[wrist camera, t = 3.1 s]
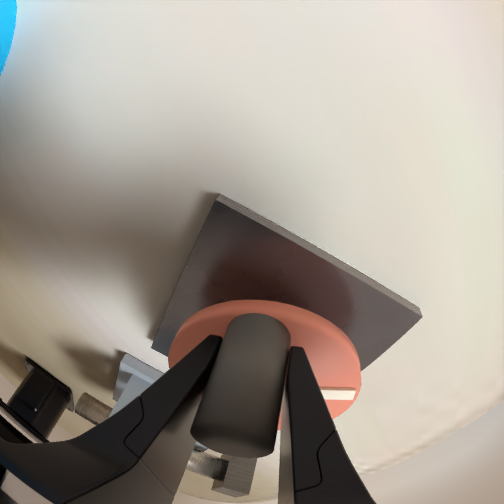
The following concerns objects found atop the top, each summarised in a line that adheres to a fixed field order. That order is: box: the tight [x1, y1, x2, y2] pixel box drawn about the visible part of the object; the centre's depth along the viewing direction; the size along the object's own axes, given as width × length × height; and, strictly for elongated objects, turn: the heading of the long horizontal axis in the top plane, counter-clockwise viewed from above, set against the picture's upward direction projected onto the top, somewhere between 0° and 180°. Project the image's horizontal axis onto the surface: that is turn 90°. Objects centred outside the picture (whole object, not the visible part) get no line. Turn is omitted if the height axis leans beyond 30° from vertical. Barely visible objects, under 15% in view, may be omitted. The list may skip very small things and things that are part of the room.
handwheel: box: [168, 300, 361, 458], centre depth 11 cm, size 8×8×6 cm
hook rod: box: [75, 392, 257, 497], centre depth 17 cm, size 2×13×3 cm, turn 63°
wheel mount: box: [151, 194, 422, 371], centre depth 14 cm, size 10×10×1 cm
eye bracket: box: [109, 353, 208, 452], centre depth 18 cm, size 7×8×6 cm
